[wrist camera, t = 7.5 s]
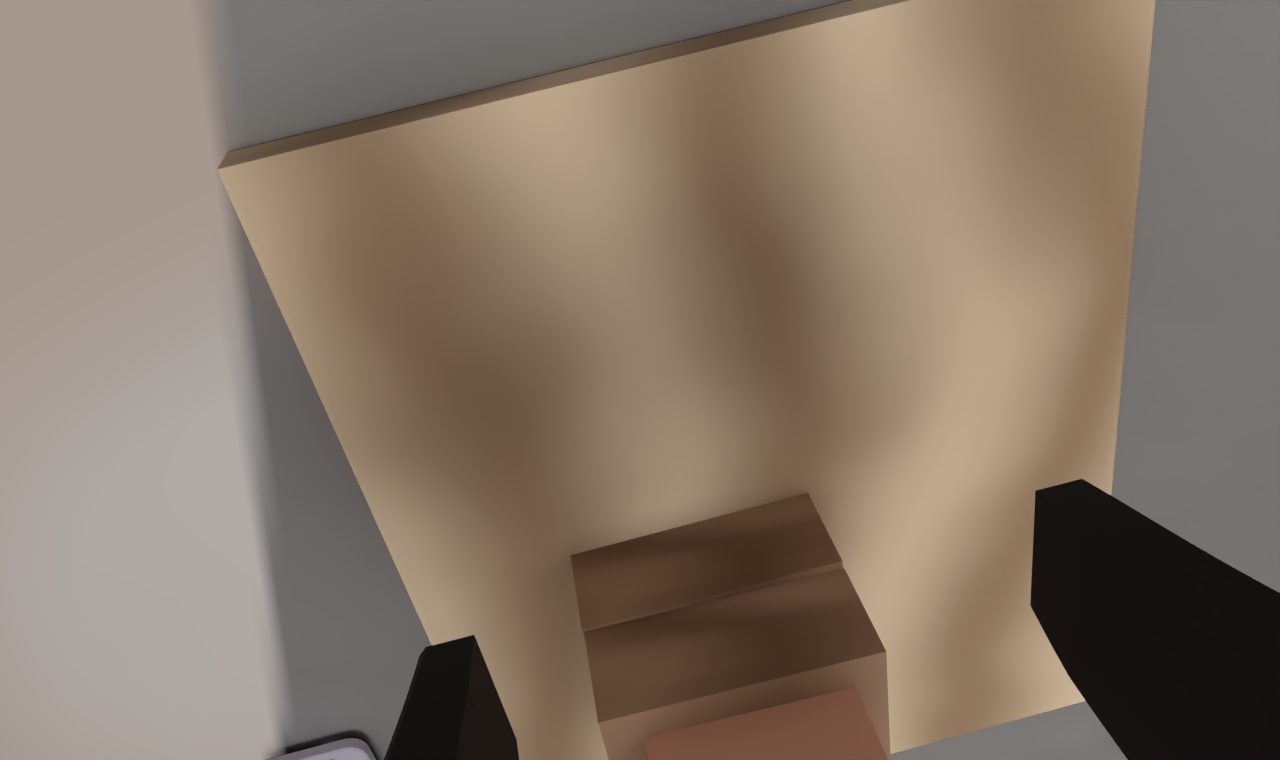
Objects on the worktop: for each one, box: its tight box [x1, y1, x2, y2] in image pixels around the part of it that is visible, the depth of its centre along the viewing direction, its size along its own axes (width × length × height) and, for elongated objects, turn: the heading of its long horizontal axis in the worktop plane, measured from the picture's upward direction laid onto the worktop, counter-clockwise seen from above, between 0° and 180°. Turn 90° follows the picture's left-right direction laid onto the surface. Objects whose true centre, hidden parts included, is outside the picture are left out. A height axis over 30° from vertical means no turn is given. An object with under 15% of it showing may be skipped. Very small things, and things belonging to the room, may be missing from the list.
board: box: [217, 0, 1155, 760], centre depth 24 cm, size 18×22×1 cm
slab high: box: [584, 569, 891, 760], centre depth 22 cm, size 6×6×2 cm
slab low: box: [570, 493, 843, 638], centre depth 24 cm, size 6×6×2 cm
